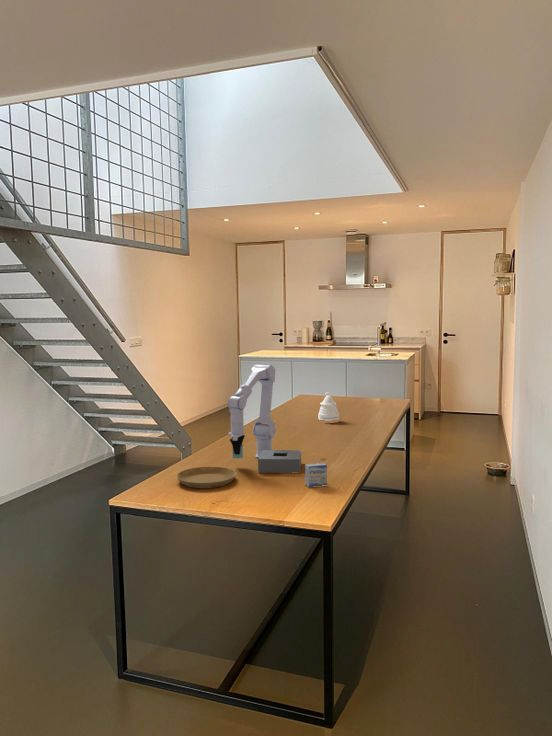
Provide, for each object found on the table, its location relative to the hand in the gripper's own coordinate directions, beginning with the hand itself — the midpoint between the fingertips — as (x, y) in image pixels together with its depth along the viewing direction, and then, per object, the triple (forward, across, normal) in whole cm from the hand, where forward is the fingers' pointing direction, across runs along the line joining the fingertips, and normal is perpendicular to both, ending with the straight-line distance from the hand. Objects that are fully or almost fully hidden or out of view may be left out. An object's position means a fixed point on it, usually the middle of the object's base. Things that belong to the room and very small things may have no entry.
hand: (237, 452), depth 256 cm
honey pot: (+7, -104, +42) cm, 112 cm away
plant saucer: (+7, +21, -10) cm, 24 cm away
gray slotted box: (+6, 0, +19) cm, 20 cm away
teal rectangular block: (+2, 0, 0) cm, 2 cm away
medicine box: (+7, +25, +35) cm, 44 cm away
